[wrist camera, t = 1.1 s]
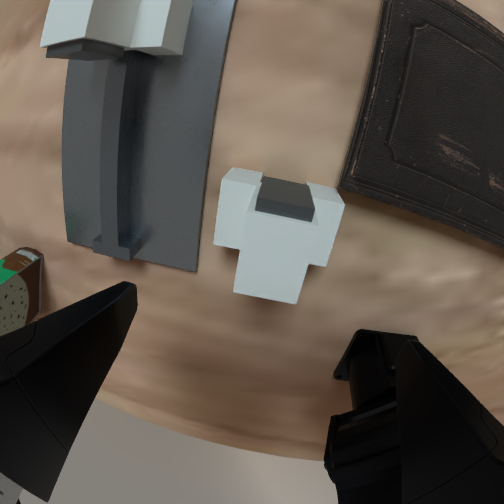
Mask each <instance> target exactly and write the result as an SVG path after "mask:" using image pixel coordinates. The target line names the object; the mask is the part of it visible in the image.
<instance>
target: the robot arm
mask: <svg viewBox="0 0 504 504" xmlns="http://www.w3.org/2000/svg"><path fill="white" fill-rule="evenodd" d="M137 306H138V302H137V287H136V285H135V284H133V283H130V282H126V281H123V282H121V283H118V284H116V285H114V286H112V287H109V288H107V289H105V290H103V291H100V292H98V293H96V294H94V295H91V296H89V297H87V298H85V299H82V300H80V301H78V302H76V303H74V304H71V305H69V306H67V307H65V308H63V309H60V310H58V311H56V312H54V313H52V314H50V315H47V316H45V317H43V318H41V319H39V320H38V321H34V322H32V323H30V324H28V325H26V326H23V327H21V328H19V329H17V330H14V331H12V332H9V333H7V334H4V335H2V336H0V504H21V503H20V501H19V496H20V493H21V491H22V489H23V488H24V489H25V490H27V491H28V492H30V493H32V494H33V495H35V496H37V497H38V498H40V499H42V500H44V501H45V502H48V501H49V499H50V496H51V494H52V491H53V489H54V486H55V484H56V482H57V479H58V477H59V474H60V472H61V470H62V467H63V465H64V463H65V460H66V458H67V456H68V453H69V451H70V449H71V446H72V444H73V442H74V440H75V438H76V436H77V434H78V431H79V429H80V427H81V425H82V423H83V421H84V419H85V417H86V415H87V413H88V411H89V408H90V407H91V405H92V403H93V401H94V399H95V397H96V395H97V393H98V391H99V389H100V387H101V385H102V383H103V381H104V379H105V377H106V375H107V374H108V372H109V370H110V368H111V366H112V364H113V362H114V360H115V359H116V357H117V355H118V353H119V351H120V349H121V347H122V345H123V342H124V340H125V337H126V335H127V332H128V330H129V328H130V325H131V323H132V320H133V318H134V316H135V313H136V311H137ZM360 335H362V336H360ZM334 378H335V379H336V380H345V381H349V385H350V392H351V400H352V407H353V410H352V411H349V412H346V413H343V414H340V415H334V416H331V420H330V425H329V430H328V437H327V443H326V449H325V455H324V462H325V463H324V467H325V469H326V470H327V471H328V474H329V477H330V479H331V480H332V482H333V483H334V484H335V485H336V489H337V495H338V504H504V426H503V425H502V424H501V423H500V422H499V421H498V420H497V419H496V418H495V417H494V416H493V415H492V414H491V413H490V412H489V411H488V410H487V409H486V408H485V407H484V406H483V405H482V404H480V402H479V401H478V400H477V399H476V397H475V396H474V395H473V394H472V393H471V392H470V391H469V390H468V389H467V388H466V387H465V386H464V385H463V384H462V383H461V382H460V381H459V380H458V379H457V378H456V377H455V376H454V375H453V374H452V373H451V372H450V371H449V370H448V369H447V368H446V367H445V366H444V365H443V364H442V363H441V362H440V361H439V360H438V359H437V358H436V357H435V356H434V355H433V354H432V353H431V352H430V351H429V350H428V349H426V348H425V347H424V346H423V345H422V344H421V343H420V342H419V340H418V338H417V336H411V335H403V334H395V333H387V332H379V331H372V330H365V329H361V330H358V331H357V332H356V334H355V336H354V337H353V339H352V341H351V343H350V345H349V347H348V349H347V351H346V353H345V355H344V356H343V358H342V360H341V362H340V364H339V365H338V367H337V369H336V371H335V373H334Z"/></svg>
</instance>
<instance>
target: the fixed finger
mask: <svg viewBox="0 0 504 504" xmlns="http://www.w3.org/2000/svg"><path fill="white" fill-rule="evenodd" d="M192 5H193V0H51V1H50V5H49V8H48V12H47V16H46V20H45V24H44V29H43V34H42V38H41V44H40V47H43V48H47V53H46V58H60V59H73V60H84V61H94V60H103V59H114V58H123V54H124V51H125V50H138V51H141V52H144V53H148V54H151V55H182V53H183V48H184V42H185V37H186V32H187V28H188V23H189V18H190V14H191V9H192Z"/></svg>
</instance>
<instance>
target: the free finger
mask: <svg viewBox="0 0 504 504" xmlns="http://www.w3.org/2000/svg"><path fill="white" fill-rule="evenodd" d="M262 177H263V173H262V172H256V171H251V170H245V169H240V168H234V167H232V168H231V169H230V171H229V172H228V173H227V174H226V175H225V176H224V177H223V178H222V182H221V189H220V196H219V204H218V211H217V219H216V227H215V235H214V243H213V244H214V245H219V246H224V247H229V248H234V249H239V250H240V253H239V259H238V265H237V271H236V277H235V283H234V289H233V292H235V293H240V294H245V295H250V296H255V297H260V298H265V299H270V300H275V301H281V302H286V303H291V304H296V303H297V300H298V297H299V294H300V290H301V287H302V284H303V281H304V278H305V274H306V271H307V268H308V264H313V265H318V266H323V267H326V265H327V262H328V259H329V256H330V253H331V249H332V246H333V243H334V240H335V237H336V233H337V230H338V227H339V224H340V220H341V217H342V213H343V210H344V207H345V204H344V202H343V200H342V198H341V197H340V195H339V193H338V191H337V190H336V189H335V188H331V187H327V186H322V185H318V184H314V183H309V182H306V185H304V184H299V183H295V182H290V181H285V180H281V179H276V178H271V177H266V176H264V178H263V181H262Z"/></svg>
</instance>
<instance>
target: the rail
mask: <svg viewBox="0 0 504 504" xmlns="http://www.w3.org/2000/svg"><path fill="white" fill-rule="evenodd" d="M236 2H237V0H193V5H192V9H191V14H190V18H189V23H188V28H187V32H186V37H185V42H184V48H183V53H182V55H151V54H148V53H144V52H141V51H138V50H125V51H124V54H123V58H114V59H103V60H94V61H84V60H73V59H69V63H68V69H67V77H66V85H65V95H64V107H63V124H62V183H63V200H64V213H65V223H66V232H67V240H68V242H71V243H75V244H79V245H83V246H87V247H91V248H93V251H94V253H98V254H102V255H106V256H110V257H114V258H118V259H122V260H126V261H131V259H132V258H136V259H140V260H145V261H149V262H153V263H158V264H162V265H166V266H171V267H175V268H180V269H184V270H189V271H193V272H195V271H196V269H197V265H198V254H199V243H200V232H201V222H202V213H203V204H204V195H205V187H206V178H207V170H208V163H209V155H210V148H211V141H212V134H213V127H214V120H215V114H216V107H217V101H218V95H219V89H220V83H221V77H222V72H223V66H224V61H225V55H226V50H227V45H228V40H229V35H230V30H231V25H232V20H233V16H234V11H235V6H236Z"/></svg>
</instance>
